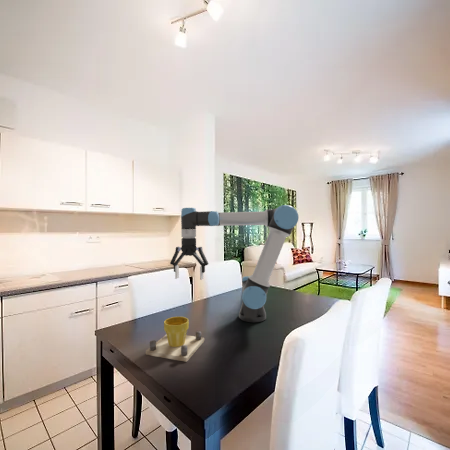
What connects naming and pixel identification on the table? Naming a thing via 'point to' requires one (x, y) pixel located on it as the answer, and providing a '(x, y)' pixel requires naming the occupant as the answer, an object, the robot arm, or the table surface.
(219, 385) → the table surface
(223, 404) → the table surface
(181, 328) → the plant pot
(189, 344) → the stub plate
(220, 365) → the table surface
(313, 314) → the table surface
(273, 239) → the robot arm
